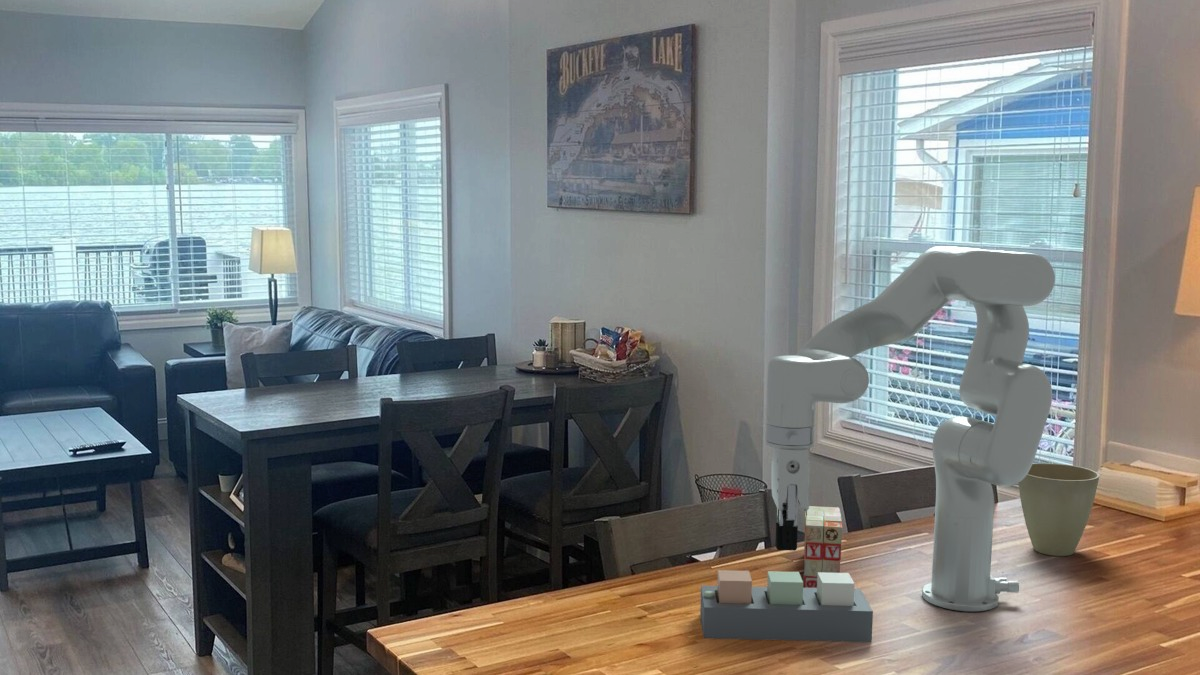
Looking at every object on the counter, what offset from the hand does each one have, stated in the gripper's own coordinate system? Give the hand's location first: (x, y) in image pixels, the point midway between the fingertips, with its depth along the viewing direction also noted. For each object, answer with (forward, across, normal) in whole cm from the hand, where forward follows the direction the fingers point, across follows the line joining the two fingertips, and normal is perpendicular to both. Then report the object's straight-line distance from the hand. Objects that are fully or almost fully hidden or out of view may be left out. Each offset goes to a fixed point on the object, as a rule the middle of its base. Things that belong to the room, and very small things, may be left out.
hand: (786, 548), depth 182 cm
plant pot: (+13, +44, -58) cm, 74 cm away
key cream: (+10, 0, -8) cm, 12 cm away
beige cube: (+10, 0, +8) cm, 12 cm away
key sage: (+10, 0, 0) cm, 10 cm away
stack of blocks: (+13, +27, -10) cm, 32 cm away
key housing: (+13, 0, 0) cm, 13 cm away
